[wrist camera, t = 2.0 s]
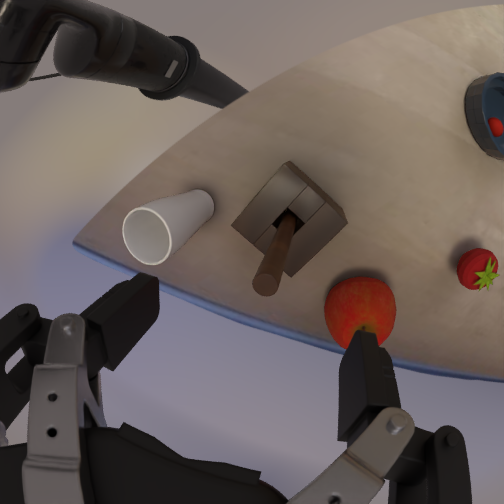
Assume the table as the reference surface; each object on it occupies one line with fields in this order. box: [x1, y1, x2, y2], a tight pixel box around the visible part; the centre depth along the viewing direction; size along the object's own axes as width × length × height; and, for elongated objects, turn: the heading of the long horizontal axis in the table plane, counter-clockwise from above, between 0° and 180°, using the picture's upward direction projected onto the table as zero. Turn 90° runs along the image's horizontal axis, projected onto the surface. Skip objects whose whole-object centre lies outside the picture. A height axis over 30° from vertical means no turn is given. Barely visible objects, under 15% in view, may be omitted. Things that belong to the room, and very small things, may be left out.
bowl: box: [466, 72, 504, 161], centre depth 22 cm, size 13×13×6 cm
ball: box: [488, 117, 503, 137], centre depth 24 cm, size 3×3×3 cm
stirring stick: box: [252, 207, 298, 296], centre depth 29 cm, size 2×2×22 cm
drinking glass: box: [122, 189, 214, 265], centre depth 35 cm, size 7×7×15 cm
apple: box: [324, 277, 396, 349], centre depth 36 cm, size 11×11×11 cm
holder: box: [231, 161, 348, 277], centre depth 35 cm, size 10×10×7 cm
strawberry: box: [457, 248, 499, 291], centre depth 30 cm, size 6×8×10 cm
